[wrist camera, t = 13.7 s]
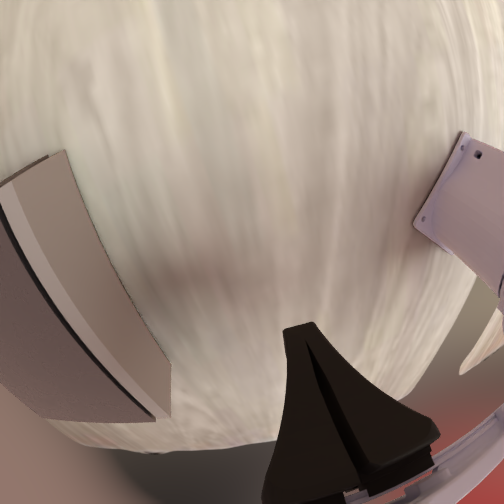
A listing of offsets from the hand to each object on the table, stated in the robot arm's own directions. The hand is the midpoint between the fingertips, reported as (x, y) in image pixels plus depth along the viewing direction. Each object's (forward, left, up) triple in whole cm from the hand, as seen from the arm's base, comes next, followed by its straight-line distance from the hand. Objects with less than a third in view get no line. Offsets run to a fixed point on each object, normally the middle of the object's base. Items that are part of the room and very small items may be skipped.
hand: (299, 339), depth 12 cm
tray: (+10, -13, -8) cm, 18 cm away
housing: (+11, -15, -8) cm, 20 cm away
